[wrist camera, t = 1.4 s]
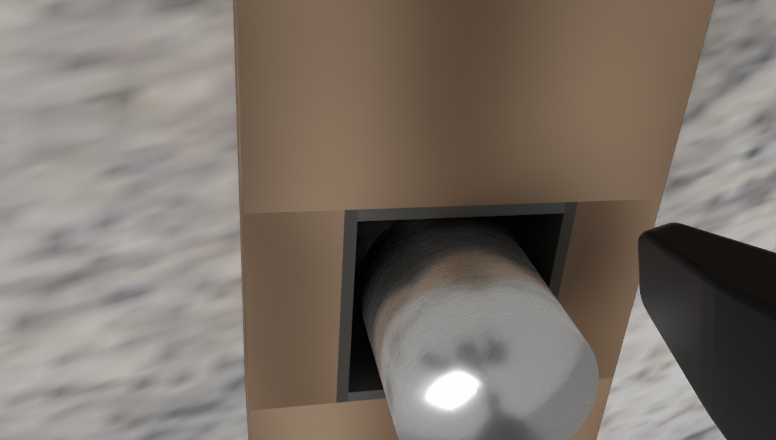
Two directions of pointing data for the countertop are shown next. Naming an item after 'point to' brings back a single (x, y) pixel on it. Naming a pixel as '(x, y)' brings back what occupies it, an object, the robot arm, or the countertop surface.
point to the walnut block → (442, 169)
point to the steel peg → (471, 335)
